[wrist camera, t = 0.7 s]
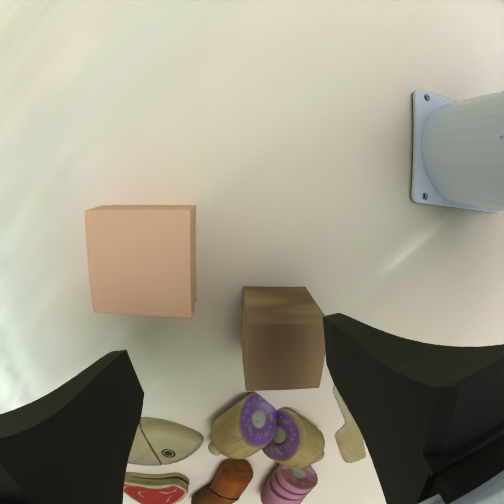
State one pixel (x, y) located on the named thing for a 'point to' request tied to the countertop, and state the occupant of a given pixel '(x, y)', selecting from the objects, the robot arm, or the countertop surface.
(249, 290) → the walnut block
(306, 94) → the countertop surface
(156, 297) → the base block
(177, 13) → the countertop surface
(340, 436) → the toy food set
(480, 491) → the robot arm
